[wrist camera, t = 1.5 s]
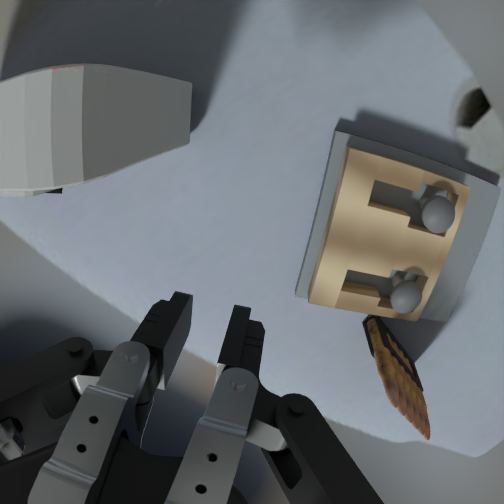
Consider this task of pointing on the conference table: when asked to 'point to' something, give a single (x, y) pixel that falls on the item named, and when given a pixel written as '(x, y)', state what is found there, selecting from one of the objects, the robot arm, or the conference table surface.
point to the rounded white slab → (85, 124)
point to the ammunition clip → (397, 374)
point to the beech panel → (379, 236)
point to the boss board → (421, 212)
